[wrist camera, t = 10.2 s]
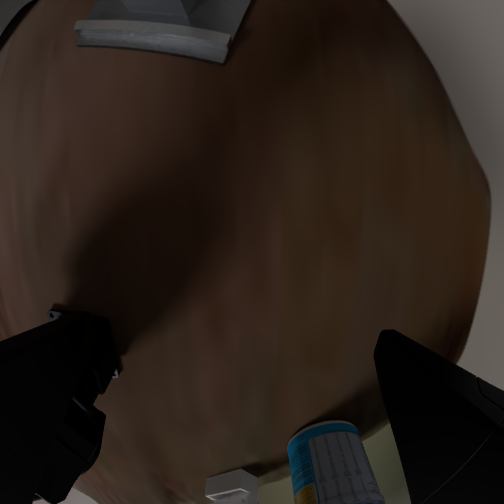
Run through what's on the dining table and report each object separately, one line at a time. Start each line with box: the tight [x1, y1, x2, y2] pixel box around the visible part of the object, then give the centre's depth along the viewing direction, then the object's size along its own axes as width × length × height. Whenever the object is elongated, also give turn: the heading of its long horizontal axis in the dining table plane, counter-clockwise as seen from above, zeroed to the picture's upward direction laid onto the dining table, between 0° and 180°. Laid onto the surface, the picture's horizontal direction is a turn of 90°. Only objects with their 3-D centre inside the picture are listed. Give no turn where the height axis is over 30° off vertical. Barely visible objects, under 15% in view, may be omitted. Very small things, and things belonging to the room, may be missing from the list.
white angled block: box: [205, 469, 259, 504], centre depth 26 cm, size 4×10×9 cm, turn 126°
